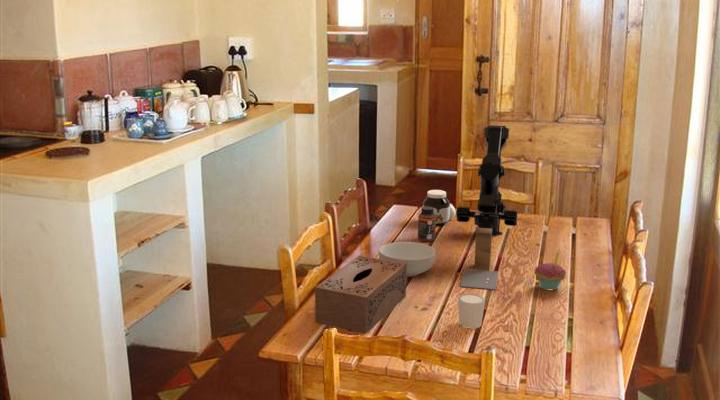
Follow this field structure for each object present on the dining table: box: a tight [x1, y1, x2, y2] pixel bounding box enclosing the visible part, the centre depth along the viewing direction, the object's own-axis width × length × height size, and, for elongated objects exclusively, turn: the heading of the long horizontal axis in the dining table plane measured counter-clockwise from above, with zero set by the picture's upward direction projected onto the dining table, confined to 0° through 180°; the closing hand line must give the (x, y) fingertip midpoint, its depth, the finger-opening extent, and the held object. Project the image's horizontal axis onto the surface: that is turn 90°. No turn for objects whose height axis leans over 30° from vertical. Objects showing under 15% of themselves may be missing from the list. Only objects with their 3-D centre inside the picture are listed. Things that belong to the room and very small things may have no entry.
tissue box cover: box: [314, 255, 407, 334], centre depth 197 cm, size 26×14×10 cm, turn 154°
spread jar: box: [421, 189, 457, 227], centre depth 271 cm, size 12×11×12 cm
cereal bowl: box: [378, 241, 437, 278], centre depth 224 cm, size 17×17×7 cm
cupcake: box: [534, 249, 567, 290], centre depth 212 cm, size 9×8×12 cm
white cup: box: [457, 293, 486, 330], centre depth 189 cm, size 7×7×7 cm
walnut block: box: [473, 227, 493, 271], centre depth 227 cm, size 4×4×12 cm
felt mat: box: [460, 268, 499, 291], centre depth 219 cm, size 14×10×1 cm
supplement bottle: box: [417, 206, 437, 243], centre depth 252 cm, size 6×6×11 cm
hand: (484, 240), depth 229 cm, fingers closed
